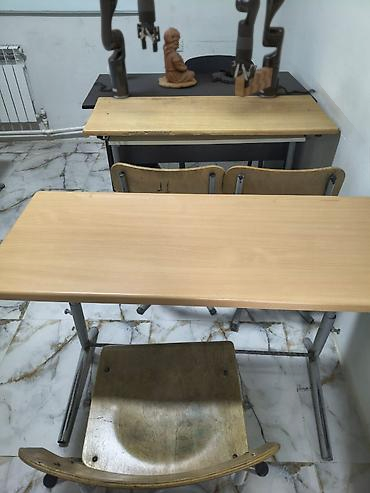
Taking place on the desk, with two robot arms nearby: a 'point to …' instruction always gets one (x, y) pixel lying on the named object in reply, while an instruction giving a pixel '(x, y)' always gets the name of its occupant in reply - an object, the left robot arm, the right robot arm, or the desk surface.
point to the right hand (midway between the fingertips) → (241, 86)
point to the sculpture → (175, 63)
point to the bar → (254, 82)
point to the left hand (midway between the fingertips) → (149, 50)
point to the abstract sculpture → (225, 75)
